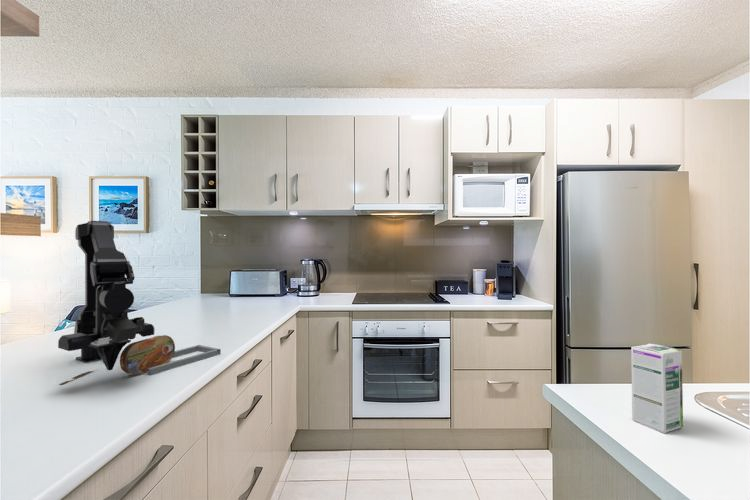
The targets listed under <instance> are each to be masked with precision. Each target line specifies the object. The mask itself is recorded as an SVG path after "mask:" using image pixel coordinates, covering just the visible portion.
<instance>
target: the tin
mask: <svg viewBox="0 0 750 500" xmlns="http://www.w3.org/2000/svg"><path fill="white" fill-rule="evenodd" d="M175 344H176V343H175V342H174V339H173V338H172V337H171V336H169V335H167V334H166V335H165V334H164V335H156V336H153V337H148V338H144V339H141V340H138V341H135V342H132V343H131V342H130V343H128V344H127V345H125V347H123V349H122V350H121V351H122V352H120V354H119V355H120V356H119V366H120V369H121V370H122V372H123V373H125V374H127V375H133V376H134V375H135V376H139V375H140V376H141V375H143V374H146V373H148V368H152V367H155V366H159V365H162V364H166V363H169V362H171V360H172V359H173V358H172V357H173V355H174V351H176V345H175Z"/></svg>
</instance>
